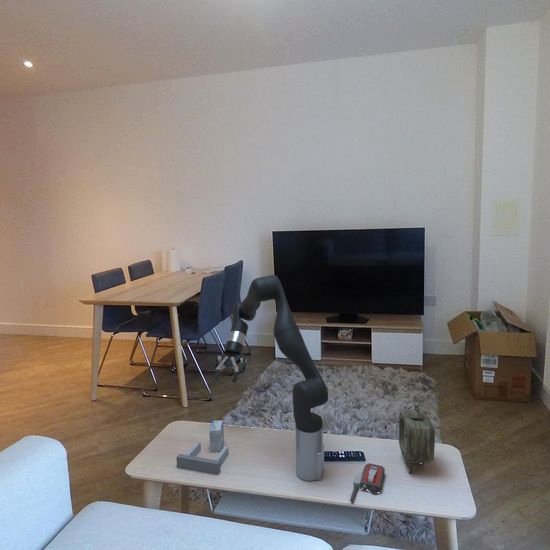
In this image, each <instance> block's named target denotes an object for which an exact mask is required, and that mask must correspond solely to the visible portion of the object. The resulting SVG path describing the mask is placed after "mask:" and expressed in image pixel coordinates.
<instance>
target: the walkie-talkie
mask: <svg viewBox="0 0 550 550" xmlns="http://www.w3.org/2000/svg"><path fill="white" fill-rule="evenodd" d="M385 471H386V470H385V467H384V466H383V465H380V464H374V463H370V462H369V463H367V464H365V465H364V468H363V471H362V472H361V473H360V472H359V473H358V474H356V475H355V478H354V480H353V481H352V483H353V485H352V486H354V487H353V490H352V493H351V495H350V499H349V501H350V502H352V503H353V502H354V500H355V496H356V495H357V490H358V488H360V489H362V490H363V491H364V490H367V489H368V490H369V491H371V492H372V493H371V492H370V493H371V494H373V493H377V492H380V491H382V488H381V487H383V484H382V483H384V479H385V475H384V474H385ZM380 493H381V492H380Z"/></svg>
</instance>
